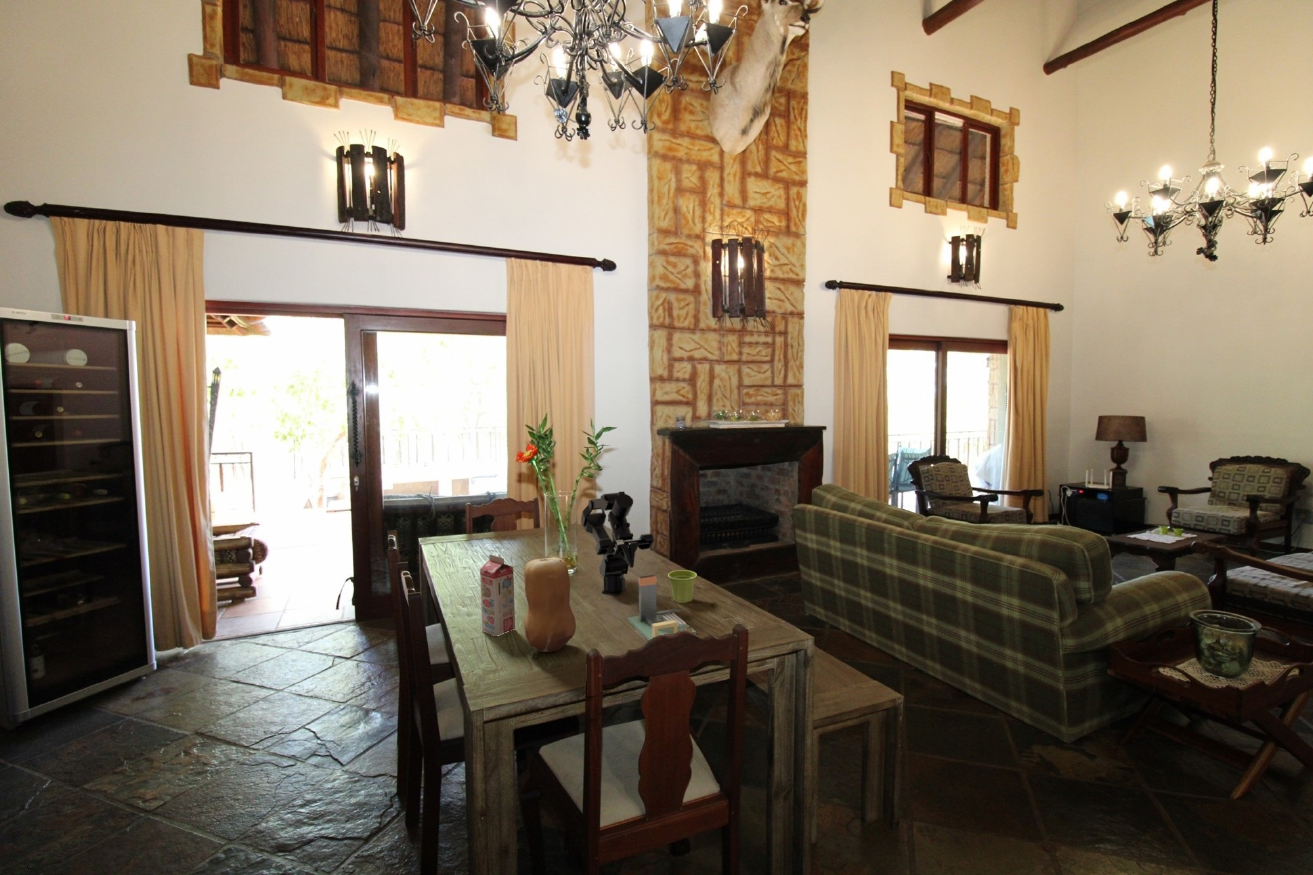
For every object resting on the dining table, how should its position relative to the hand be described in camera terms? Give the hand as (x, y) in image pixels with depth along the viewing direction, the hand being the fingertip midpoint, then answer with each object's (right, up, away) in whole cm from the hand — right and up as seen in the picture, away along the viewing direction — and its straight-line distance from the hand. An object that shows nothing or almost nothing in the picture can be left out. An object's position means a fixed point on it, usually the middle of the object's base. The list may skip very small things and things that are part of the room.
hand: (632, 567), depth 192 cm
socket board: (+9, -15, -14) cm, 22 cm away
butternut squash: (-21, -16, -29) cm, 39 cm away
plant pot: (+16, -13, +8) cm, 22 cm away
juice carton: (-38, -15, -15) cm, 44 cm away
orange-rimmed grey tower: (+10, -13, -11) cm, 20 cm away
